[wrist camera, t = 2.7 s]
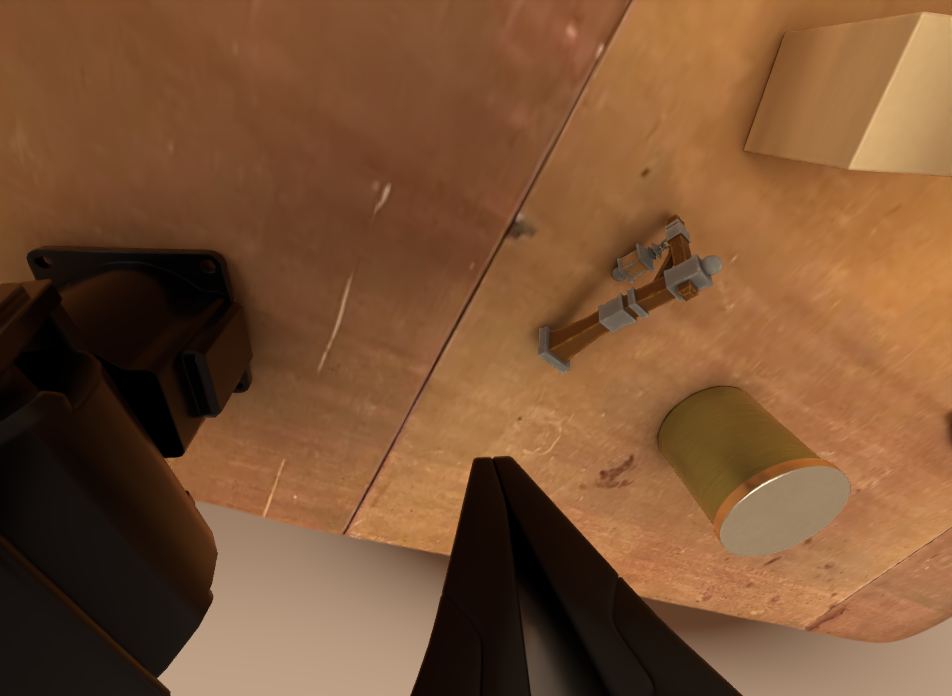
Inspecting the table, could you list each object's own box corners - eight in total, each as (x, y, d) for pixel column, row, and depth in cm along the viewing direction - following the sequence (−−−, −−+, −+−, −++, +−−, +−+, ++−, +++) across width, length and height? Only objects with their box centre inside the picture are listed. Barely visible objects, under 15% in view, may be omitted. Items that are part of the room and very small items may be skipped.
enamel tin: (641, 467, 27) (701, 562, 22) (673, 384, 24) (752, 470, 18) (732, 462, 28) (811, 551, 23) (774, 381, 25) (877, 463, 19)
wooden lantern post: (711, 218, 18) (740, 289, 15) (564, 311, 23) (564, 378, 20) (687, 190, 17) (713, 259, 14) (540, 292, 22) (537, 359, 19)
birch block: (742, 150, 18) (848, 170, 14) (784, 32, 16) (924, 10, 12) (902, 162, 19) (1044, 183, 15) (960, 53, 17) (1144, 42, 13)
